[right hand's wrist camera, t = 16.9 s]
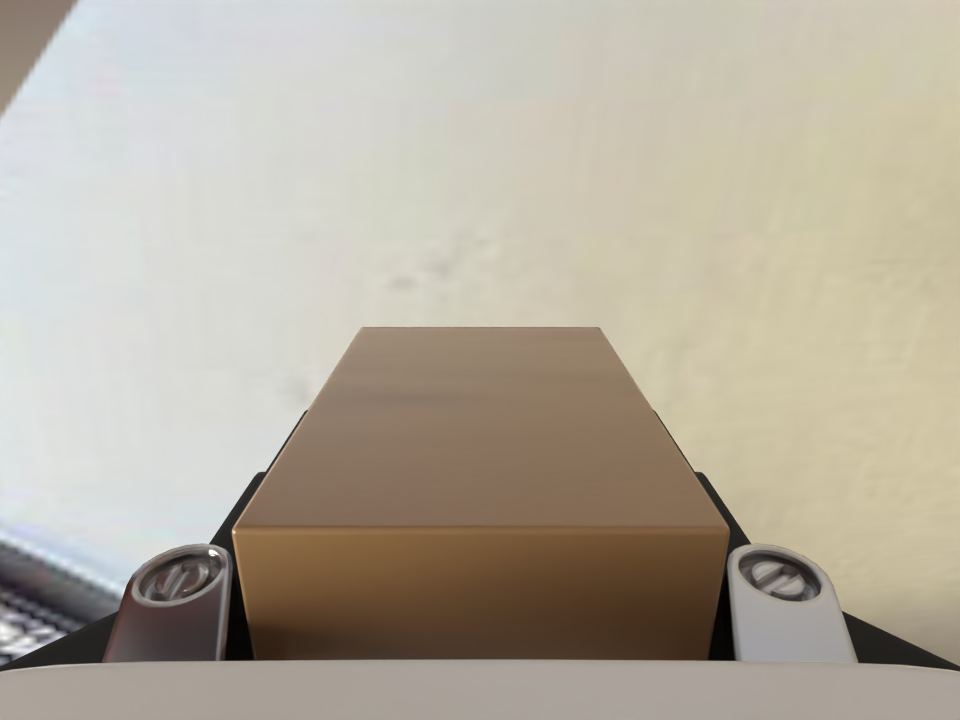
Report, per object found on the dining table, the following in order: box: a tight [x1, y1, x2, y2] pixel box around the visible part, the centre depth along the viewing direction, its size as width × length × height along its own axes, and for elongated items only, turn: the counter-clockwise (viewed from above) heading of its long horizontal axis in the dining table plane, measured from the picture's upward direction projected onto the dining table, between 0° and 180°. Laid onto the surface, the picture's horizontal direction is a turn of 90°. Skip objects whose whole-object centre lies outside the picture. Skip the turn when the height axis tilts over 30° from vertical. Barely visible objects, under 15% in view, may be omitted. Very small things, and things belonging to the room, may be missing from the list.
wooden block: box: [232, 327, 730, 661], centre depth 11 cm, size 5×5×7 cm
